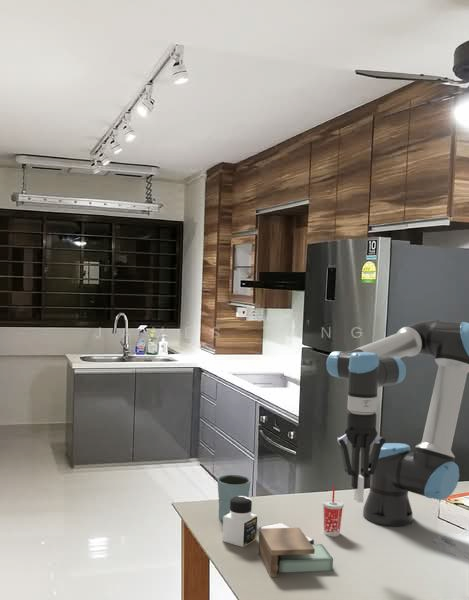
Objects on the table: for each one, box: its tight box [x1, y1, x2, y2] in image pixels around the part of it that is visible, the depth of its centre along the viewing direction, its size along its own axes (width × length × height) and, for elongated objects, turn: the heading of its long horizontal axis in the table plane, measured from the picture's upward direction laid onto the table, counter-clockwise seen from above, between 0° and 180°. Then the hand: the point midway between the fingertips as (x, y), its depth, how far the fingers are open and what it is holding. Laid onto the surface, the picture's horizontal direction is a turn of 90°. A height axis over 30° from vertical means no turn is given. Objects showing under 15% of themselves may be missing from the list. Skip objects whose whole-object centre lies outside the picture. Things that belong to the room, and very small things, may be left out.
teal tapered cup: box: [217, 474, 251, 522], centre depth 200 cm, size 10×10×12 cm
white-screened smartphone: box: [258, 522, 315, 545], centre depth 187 cm, size 9×2×16 cm
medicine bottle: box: [221, 496, 258, 548], centre depth 183 cm, size 7×7×12 cm
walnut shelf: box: [258, 527, 315, 578], centre depth 169 cm, size 11×14×7 cm
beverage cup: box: [322, 485, 345, 537], centre depth 191 cm, size 6×6×14 cm
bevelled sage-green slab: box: [277, 543, 334, 573], centre depth 170 cm, size 14×9×3 cm, turn 100°
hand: (358, 500), depth 172 cm, fingers closed
